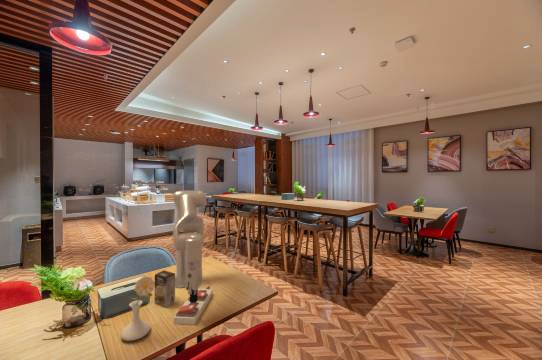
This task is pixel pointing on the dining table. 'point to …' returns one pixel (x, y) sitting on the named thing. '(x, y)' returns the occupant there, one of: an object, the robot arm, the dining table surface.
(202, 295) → the far rocker
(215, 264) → the dining table surface
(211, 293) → the power strip
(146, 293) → the flower in vase
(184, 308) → the near rocker
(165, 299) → the coffee box
